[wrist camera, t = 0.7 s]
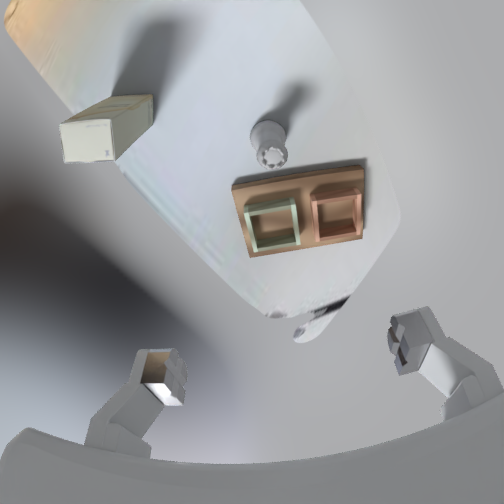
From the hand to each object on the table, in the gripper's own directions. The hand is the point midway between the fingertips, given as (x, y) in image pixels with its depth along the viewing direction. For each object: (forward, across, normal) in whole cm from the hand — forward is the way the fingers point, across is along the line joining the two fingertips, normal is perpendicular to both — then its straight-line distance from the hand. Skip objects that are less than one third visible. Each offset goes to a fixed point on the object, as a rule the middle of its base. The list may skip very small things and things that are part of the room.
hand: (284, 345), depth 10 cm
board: (+31, -4, +11) cm, 33 cm away
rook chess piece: (+30, -1, -1) cm, 30 cm away
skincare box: (+29, +15, -9) cm, 34 cm away
